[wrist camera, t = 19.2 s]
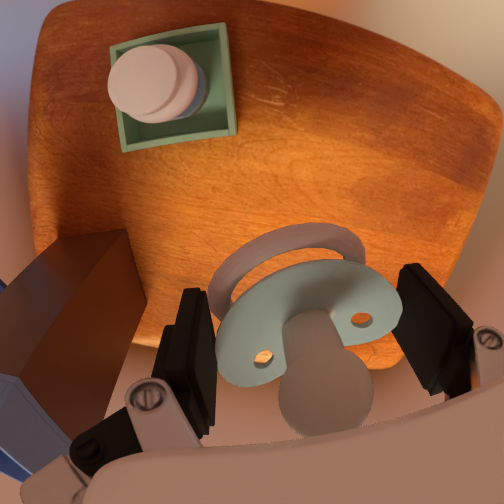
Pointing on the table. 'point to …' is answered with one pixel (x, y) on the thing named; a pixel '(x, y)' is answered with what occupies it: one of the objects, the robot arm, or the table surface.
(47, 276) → the blue bin
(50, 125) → the table surface
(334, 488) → the robot arm
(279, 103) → the table surface
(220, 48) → the green bin
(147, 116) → the pill bottle
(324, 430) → the pacifier
